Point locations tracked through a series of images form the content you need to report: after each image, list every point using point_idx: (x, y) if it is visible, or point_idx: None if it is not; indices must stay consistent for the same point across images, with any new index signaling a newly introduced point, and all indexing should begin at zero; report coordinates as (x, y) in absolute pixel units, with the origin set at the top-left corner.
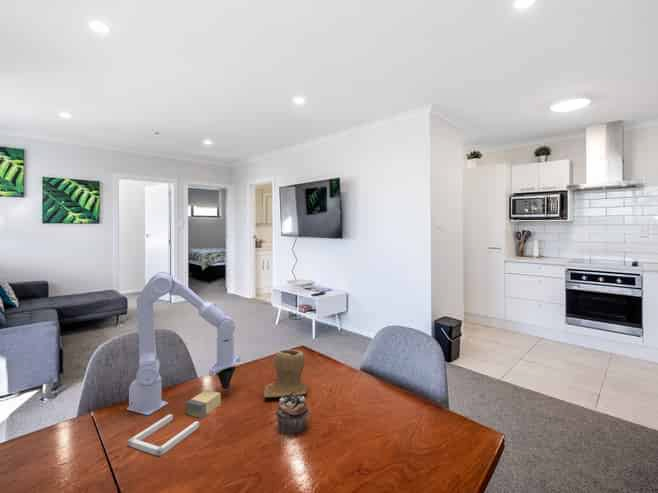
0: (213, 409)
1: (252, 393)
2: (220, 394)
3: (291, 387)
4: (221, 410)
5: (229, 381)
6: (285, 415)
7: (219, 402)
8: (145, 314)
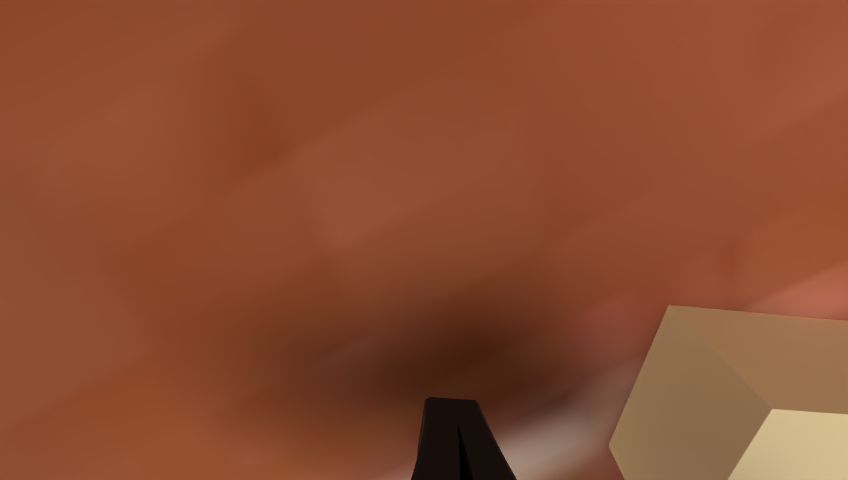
0: (780, 315)
1: (313, 61)
2: (759, 391)
3: None
4: (809, 230)
5: (451, 474)
6: None
7: (707, 325)
8: None
